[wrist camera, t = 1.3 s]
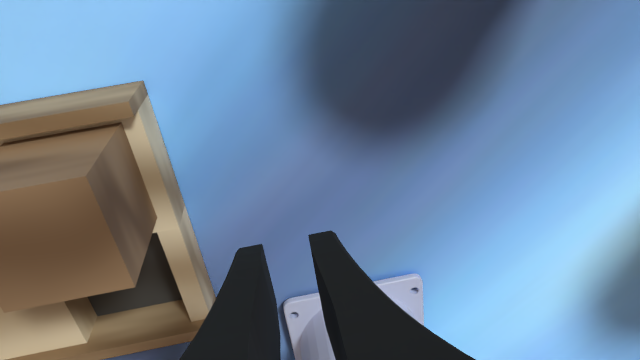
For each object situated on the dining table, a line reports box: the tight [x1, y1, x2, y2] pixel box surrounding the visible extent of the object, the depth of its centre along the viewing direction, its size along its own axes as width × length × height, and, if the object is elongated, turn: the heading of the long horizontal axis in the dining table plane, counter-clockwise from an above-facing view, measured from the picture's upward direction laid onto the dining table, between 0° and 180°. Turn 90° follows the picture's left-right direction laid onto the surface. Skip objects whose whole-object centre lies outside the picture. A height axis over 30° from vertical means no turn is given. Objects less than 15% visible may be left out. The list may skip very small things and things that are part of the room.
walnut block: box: [0, 122, 157, 313], centre depth 17 cm, size 4×4×4 cm
